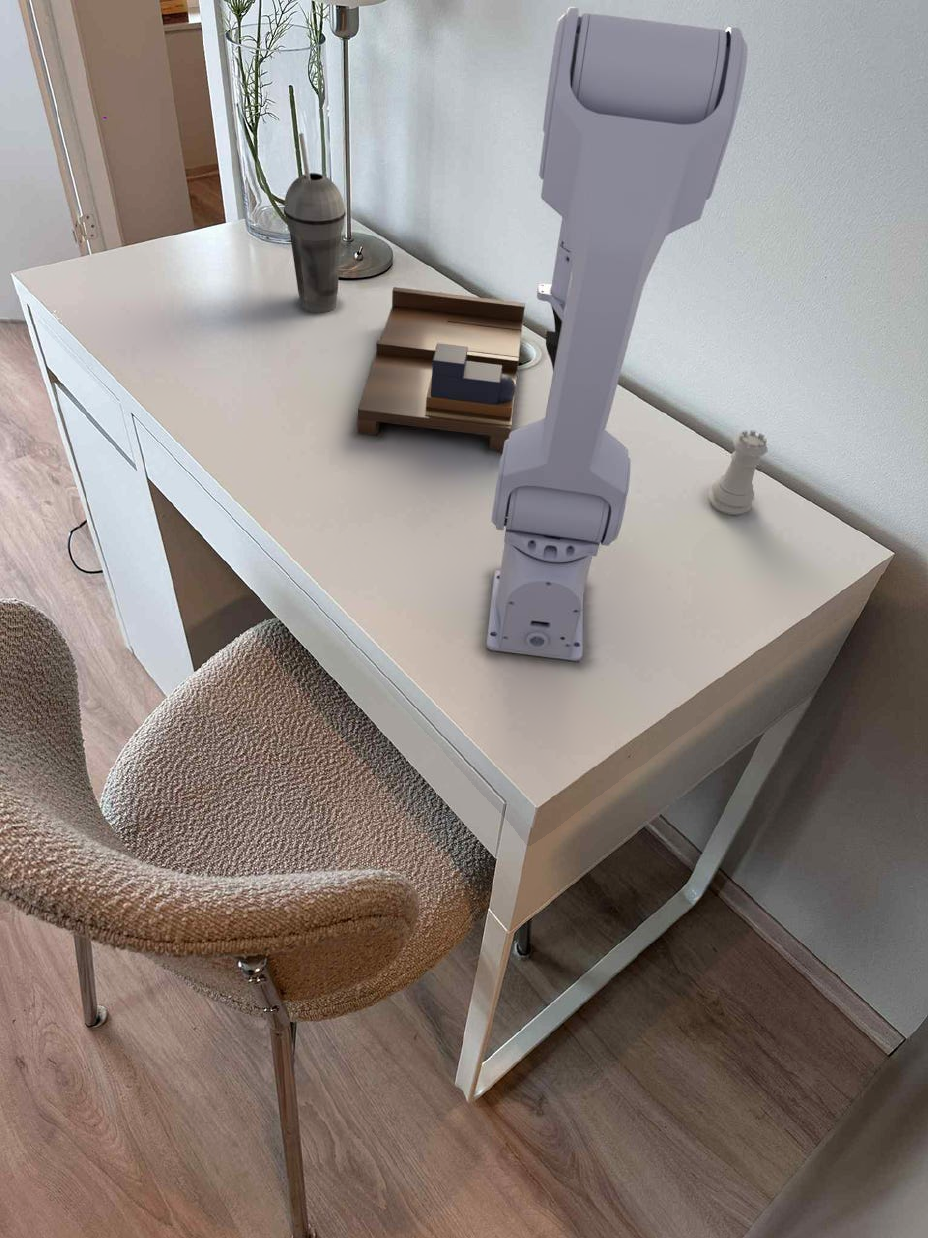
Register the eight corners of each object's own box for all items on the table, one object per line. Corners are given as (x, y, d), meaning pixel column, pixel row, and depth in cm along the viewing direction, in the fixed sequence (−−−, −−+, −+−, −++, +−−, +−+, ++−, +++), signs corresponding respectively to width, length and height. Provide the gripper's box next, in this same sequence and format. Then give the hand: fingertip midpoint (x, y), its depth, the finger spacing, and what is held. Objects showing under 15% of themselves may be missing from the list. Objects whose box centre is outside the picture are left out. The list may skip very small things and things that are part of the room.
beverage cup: (354, 314, 111) (352, 143, 97) (297, 320, 109) (287, 146, 95) (338, 288, 116) (334, 120, 102) (283, 293, 114) (271, 123, 99)
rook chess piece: (698, 493, 91) (721, 427, 85) (735, 486, 92) (759, 421, 87) (722, 520, 88) (746, 454, 83) (759, 513, 90) (786, 447, 84)
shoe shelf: (507, 452, 93) (513, 411, 90) (357, 433, 94) (357, 392, 90) (520, 340, 110) (525, 302, 107) (392, 325, 110) (393, 286, 107)
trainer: (514, 397, 95) (520, 351, 92) (512, 417, 93) (518, 371, 89) (430, 387, 96) (433, 341, 92) (426, 407, 93) (428, 360, 89)
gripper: (547, 206, 81) (527, 342, 91) (542, 275, 71) (521, 419, 81) (623, 215, 81) (595, 350, 91) (629, 286, 71) (598, 429, 81)
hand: (565, 383), depth 86 cm, fingers open, 7 cm apart
